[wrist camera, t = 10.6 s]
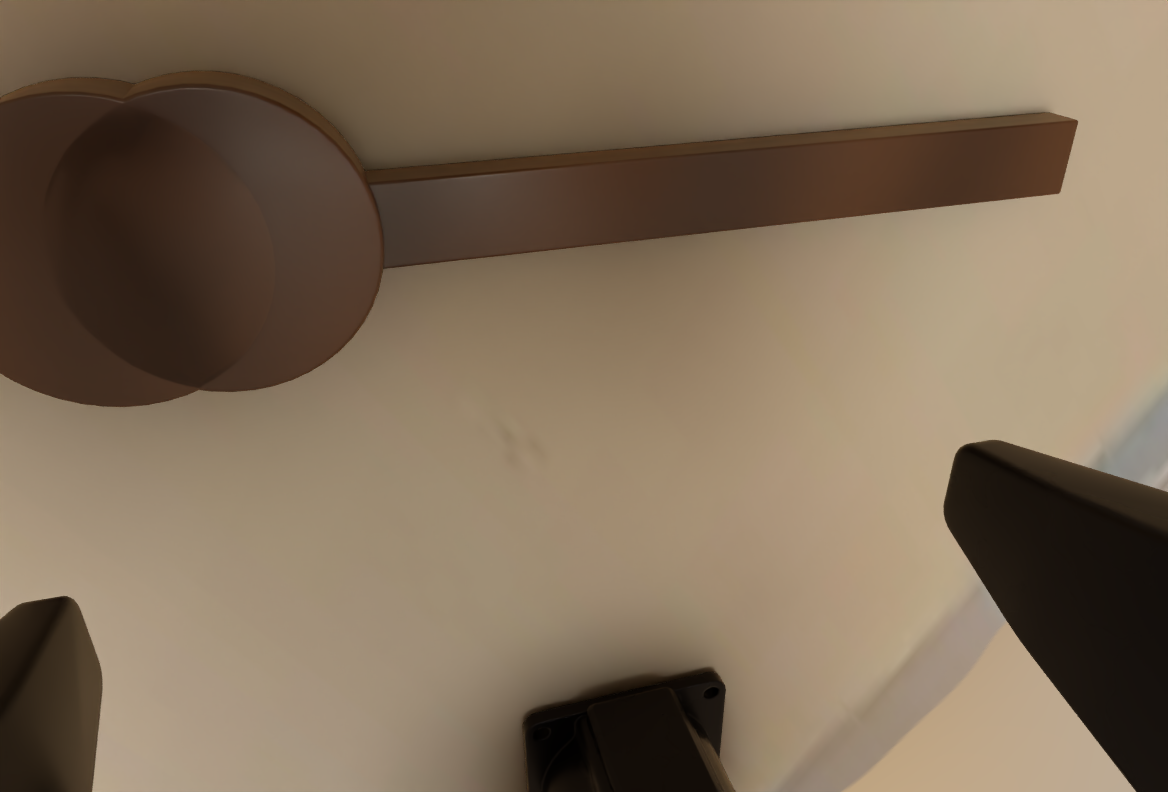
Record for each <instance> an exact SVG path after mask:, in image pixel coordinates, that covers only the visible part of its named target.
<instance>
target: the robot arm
mask: <svg viewBox="0 0 1168 792" xmlns="http://www.w3.org/2000/svg"><path fill="white" fill-rule="evenodd" d="M944 517H945V521H946V523H947V526H948V528H949V530H950V531H951V533H952V535H953V536H954V538H955V539H956V541H957V542H958V544H959V546H960V547H961V549H962V550H963V552H964V554H965V555H966V557H967V558H968V560H969V562H970V563H971V565H972V566H973V568H974V569H975V571H976V573H977V574H978V576H979V577H980V579H981V581H982V582H983V584H984V585H985V587H986V589H987V590H988V592H989V593H990V595H991V597H992V598H993V600H994V601H995V603H996V604H997V606H998V608H999V609H1000V611H1001V612H1002V614H1003V616H1004V617H1005V619H1006V620H1007V622H1008V623H1009V625H1010V626H1011V628H1012V629H1013V631H1014V632H1015V634H1016V635H1017V637H1018V638H1019V640H1020V641H1021V642H1022V644H1023V645H1024V646H1025V648H1026V649H1027V651H1028V652H1029V653H1030V655H1031V656H1032V657H1033V659H1034V660H1035V661H1036V662H1037V664H1038V665H1039V666H1040V668H1041V669H1042V670H1043V671H1044V673H1045V674H1046V675H1047V677H1048V678H1049V679H1050V680H1051V682H1052V683H1053V684H1054V686H1055V687H1056V688H1057V690H1058V691H1059V692H1060V693H1061V695H1062V696H1063V697H1064V699H1065V700H1066V701H1067V703H1068V704H1069V705H1070V706H1071V708H1072V709H1073V710H1074V712H1075V713H1076V714H1077V715H1078V717H1079V718H1080V719H1081V721H1082V722H1083V723H1084V725H1085V726H1086V727H1087V728H1088V730H1089V731H1090V732H1091V734H1092V735H1093V736H1094V737H1095V739H1096V740H1097V741H1098V742H1099V744H1100V745H1101V747H1102V748H1103V749H1104V751H1105V752H1106V753H1107V754H1108V756H1109V757H1110V758H1111V760H1112V761H1113V762H1114V763H1115V765H1116V766H1117V767H1118V769H1119V770H1120V771H1121V773H1122V774H1123V775H1124V776H1125V778H1126V779H1127V780H1128V782H1129V783H1130V784H1131V785H1132V787H1133V788H1134V789H1135V791H1136V792H1168V492H1166V491H1163V490H1159V489H1156V488H1153V487H1150V486H1146V485H1143V484H1140V483H1137V482H1133V481H1130V480H1127V479H1124V478H1120V477H1117V476H1114V475H1111V474H1107V473H1104V472H1101V471H1098V470H1094V469H1091V468H1088V467H1085V466H1081V465H1078V464H1075V463H1072V462H1068V461H1065V460H1062V459H1059V458H1055V457H1052V456H1049V455H1046V454H1042V453H1039V452H1036V451H1033V450H1029V449H1026V448H1023V447H1020V446H1016V445H1013V444H1010V443H1007V442H1003V441H999V440H988V441H982V442H976V443H970V444H966V445H964V446H962V447H960V449H959V450H958V451H957V453H956V455H955V457H954V461H953V466H952V470H951V474H950V479H949V483H948V488H947V492H946V496H945V501H944ZM725 691H726V689H725V685H724V683H723V681H722V679H721V677H720V676H719V675H718V674H717V673H714V672H706V673H702V674H698V675H694V676H689V677H685V678H681V679H677V680H673V681H668V682H664V683H660V684H656V685H651V686H647V687H643V688H639V689H634V690H630V691H626V692H622V693H617V694H613V695H609V696H605V697H600V698H596V699H592V700H588V701H583V702H579V703H575V704H571V705H566V706H562V707H558V708H554V709H549V710H545V711H541V712H537V713H535V714H532V715H530V716H529V717H528V718H527V719H526V720H525V721H524V723H523V741H524V755H525V769H526V783H527V792H735V790H734V788H733V786H732V784H731V782H730V780H729V778H728V776H727V774H726V772H725V770H724V768H723V766H722V764H721V762H720V760H719V756H720V745H721V734H722V723H723V712H724V702H725ZM101 699H102V672H101V667H100V663H99V660H98V657H97V654H96V652H95V649H94V646H93V643H92V640H91V638H90V635H89V632H88V629H87V627H86V624H85V621H84V618H83V616H82V613H81V610H80V608H79V606H78V604H77V603H76V602H75V600H74V599H72V598H70V597H68V596H60V597H54V598H48V599H42V600H36V601H30V602H25V603H22V604H19V605H17V606H16V607H15V608H13V609H12V610H11V611H9V612H8V613H7V614H6V615H5V616H4V617H2V618H1V619H0V792H92V788H93V778H94V768H95V758H96V748H97V738H98V728H99V718H100V708H101ZM540 728H541V729H540Z"/></svg>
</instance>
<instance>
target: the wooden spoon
mask: <svg viewBox="0 0 1168 792" xmlns="http://www.w3.org/2000/svg"><path fill="white" fill-rule="evenodd" d="M1077 125H1078V121H1077V120H1075V119H1071V118H1068V117H1064V116H1060V115H1057V114H1053V113H1050V112H1049V113H1037V114H1026V115H1014V116H1002V117H991V118H979V119H967V120H956V121H944V122H932V123H921V124H909V125H897V126H885V127H874V128H862V129H850V130H839V131H827V132H815V133H804V134H792V135H780V136H769V137H757V138H745V139H733V140H722V141H710V142H698V143H687V144H675V145H663V146H652V147H640V148H628V149H616V150H605V151H593V152H581V153H570V154H558V155H546V156H535V157H523V158H511V159H500V160H488V161H476V162H464V163H453V164H441V165H429V166H418V167H406V168H394V169H383V170H371V171H365V170H364V168H363V166H362V164H361V162H360V160H359V158H358V157H357V156H356V154H355V153H354V151H353V150H352V148H351V147H350V145H349V144H348V142H347V141H346V140H345V139H344V137H343V136H342V135H341V134H340V133H339V132H338V131H337V129H336V128H335V127H334V126H333V125H332V124H331V123H330V122H329V121H327V120H326V119H325V118H324V117H323V116H322V115H321V114H320V113H319V112H317V111H316V110H315V109H313V108H312V107H310V106H309V105H307V104H306V103H305V102H303V101H302V100H300V99H299V98H297V97H295V96H293V95H291V94H289V93H288V92H286V91H284V90H282V89H280V88H278V87H275V86H273V85H270V84H268V83H265V82H263V81H260V80H257V79H253V78H249V77H246V76H242V75H238V74H232V73H224V72H217V71H186V72H178V73H170V74H166V75H162V76H158V77H154V78H150V79H147V80H144V81H142V82H140V83H137V84H131V83H127V82H123V81H118V80H110V79H102V78H65V79H56V80H48V81H44V82H41V83H37V84H33V85H29V86H25V87H23V88H21V89H18V90H16V91H14V92H11V93H9V94H6V95H4V96H3V97H1V98H0V374H2V375H4V376H6V377H7V378H9V379H11V380H13V381H14V382H17V383H19V384H21V385H23V386H25V387H28V388H30V389H32V390H34V391H37V392H40V393H43V394H46V395H49V396H52V397H55V398H58V399H62V400H67V401H71V402H76V403H80V404H87V405H96V406H107V407H130V406H142V405H150V404H155V403H160V402H165V401H169V400H173V399H176V398H179V397H182V396H185V395H188V394H190V393H193V392H195V391H197V390H205V391H218V392H237V391H249V390H256V389H261V388H266V387H271V386H275V385H278V384H281V383H284V382H288V381H291V380H293V379H295V378H297V377H300V376H302V375H304V374H306V373H309V372H310V371H312V370H313V369H315V368H317V367H318V366H320V365H322V364H323V363H325V362H326V361H328V360H329V359H330V358H331V357H333V356H334V355H335V354H336V353H338V352H339V351H340V350H341V349H342V348H343V347H344V346H345V345H346V344H347V343H348V342H349V341H350V340H351V339H352V338H353V337H354V335H355V334H356V333H357V331H358V330H359V328H360V327H361V326H362V324H363V323H364V321H365V319H366V318H367V316H368V314H369V312H370V310H371V308H372V307H373V304H374V301H375V299H376V296H377V293H378V291H379V287H380V282H381V278H382V273H383V269H386V268H395V267H404V266H413V265H422V264H431V263H440V262H449V261H458V260H467V259H476V258H485V257H494V256H503V255H512V254H521V253H530V252H539V251H548V250H557V249H566V248H575V247H584V246H593V245H602V244H611V243H620V242H629V241H638V240H647V239H656V238H665V237H674V236H683V235H692V234H701V233H709V232H718V231H727V230H736V229H745V228H754V227H763V226H772V225H781V224H790V223H799V222H808V221H817V220H826V219H835V218H844V217H853V216H862V215H871V214H880V213H889V212H898V211H907V210H916V209H925V208H934V207H943V206H952V205H961V204H970V203H979V202H988V201H997V200H1006V199H1015V198H1024V197H1033V196H1042V195H1051V194H1059V193H1060V191H1061V187H1062V183H1063V179H1064V175H1065V172H1066V168H1067V164H1068V160H1069V156H1070V152H1071V148H1072V144H1073V140H1074V136H1075V132H1076V129H1077Z"/></svg>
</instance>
